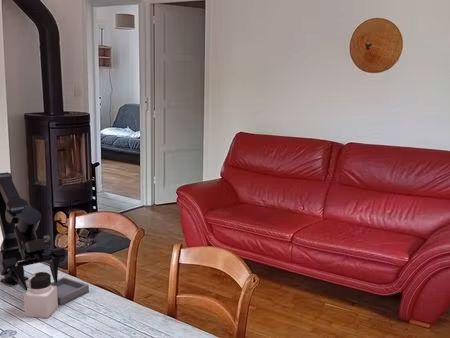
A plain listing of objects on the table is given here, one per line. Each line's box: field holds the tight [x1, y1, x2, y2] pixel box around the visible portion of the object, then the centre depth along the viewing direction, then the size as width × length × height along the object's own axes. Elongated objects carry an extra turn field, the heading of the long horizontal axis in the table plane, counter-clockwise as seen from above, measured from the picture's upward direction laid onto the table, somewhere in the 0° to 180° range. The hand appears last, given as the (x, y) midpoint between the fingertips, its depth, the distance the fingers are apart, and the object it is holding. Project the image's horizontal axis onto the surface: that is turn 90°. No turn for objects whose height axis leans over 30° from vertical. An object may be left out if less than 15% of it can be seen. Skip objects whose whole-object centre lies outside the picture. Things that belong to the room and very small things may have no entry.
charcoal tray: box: [51, 276, 90, 307], centre depth 161 cm, size 12×12×2 cm
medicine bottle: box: [23, 271, 59, 319], centre depth 149 cm, size 7×7×12 cm
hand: (41, 286), depth 147 cm, fingers open, 8 cm apart
